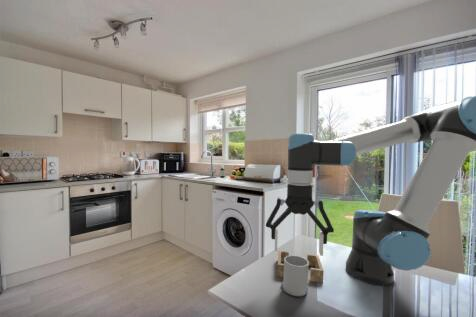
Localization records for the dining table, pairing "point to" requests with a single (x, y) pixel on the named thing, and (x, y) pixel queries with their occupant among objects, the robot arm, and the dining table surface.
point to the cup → (295, 275)
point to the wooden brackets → (313, 260)
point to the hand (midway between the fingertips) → (298, 251)
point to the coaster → (288, 293)
